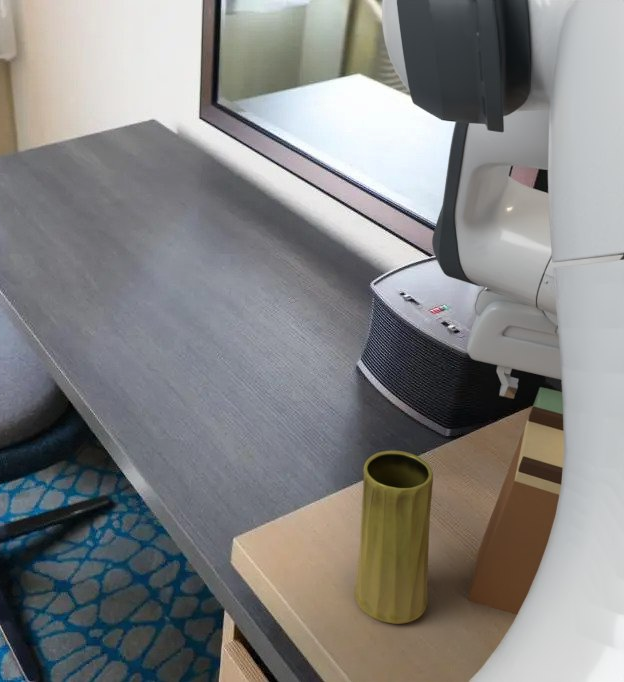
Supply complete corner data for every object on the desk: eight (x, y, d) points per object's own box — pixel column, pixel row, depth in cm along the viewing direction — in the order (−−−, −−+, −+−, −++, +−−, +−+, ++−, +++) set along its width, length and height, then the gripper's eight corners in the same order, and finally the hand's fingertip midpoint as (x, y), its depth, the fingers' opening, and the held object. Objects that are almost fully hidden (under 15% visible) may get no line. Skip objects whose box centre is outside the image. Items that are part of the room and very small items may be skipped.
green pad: (570, 440, 84) (579, 419, 82) (529, 430, 86) (538, 408, 84) (571, 417, 87) (580, 396, 85) (531, 408, 88) (540, 386, 87)
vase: (433, 627, 66) (445, 494, 59) (357, 623, 67) (361, 493, 61) (420, 574, 71) (431, 446, 65) (350, 571, 73) (354, 446, 66)
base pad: (525, 627, 67) (595, 482, 56) (465, 605, 69) (522, 460, 58) (534, 569, 72) (600, 423, 61) (478, 549, 74) (532, 405, 63)
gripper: (479, 295, 78) (448, 398, 87) (721, 343, 71) (662, 450, 79) (485, 264, 83) (456, 364, 91) (713, 306, 75) (658, 411, 84)
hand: (553, 405), depth 85 cm, fingers open, 8 cm apart
